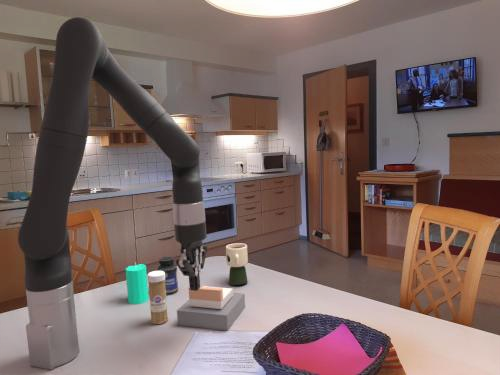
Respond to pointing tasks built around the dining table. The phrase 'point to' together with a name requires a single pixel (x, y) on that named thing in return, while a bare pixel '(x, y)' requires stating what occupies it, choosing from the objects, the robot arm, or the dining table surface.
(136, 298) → the candle
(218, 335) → the dining table surface
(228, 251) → the character mug
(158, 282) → the sprinkles bottle
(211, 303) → the panel
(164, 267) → the pill bottle
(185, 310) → the socket block
